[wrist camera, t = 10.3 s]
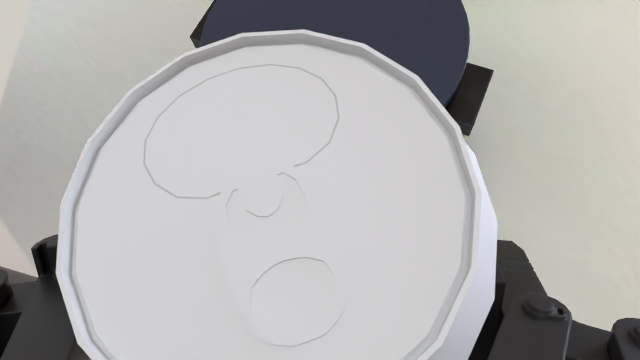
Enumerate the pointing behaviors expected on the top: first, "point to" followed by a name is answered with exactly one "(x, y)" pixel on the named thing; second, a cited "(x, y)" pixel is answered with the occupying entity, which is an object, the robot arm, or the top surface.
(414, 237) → the supplement can
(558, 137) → the top surface
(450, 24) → the pot
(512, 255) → the robot arm
